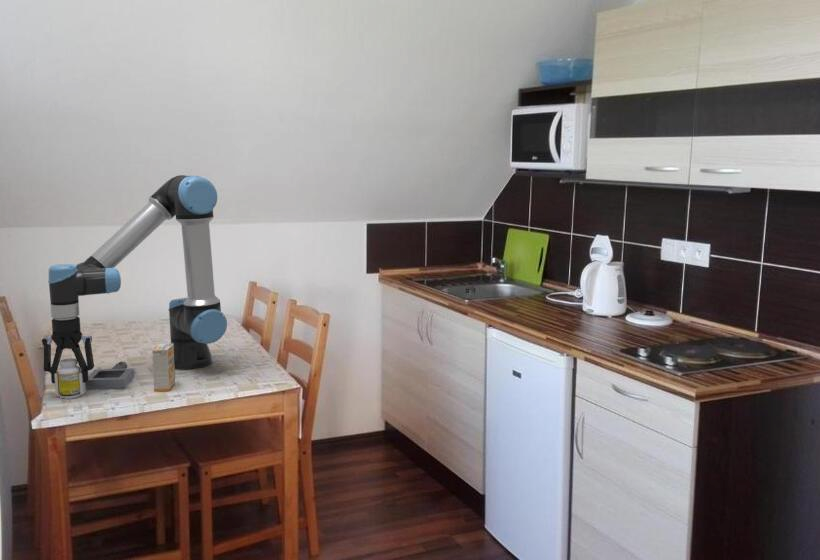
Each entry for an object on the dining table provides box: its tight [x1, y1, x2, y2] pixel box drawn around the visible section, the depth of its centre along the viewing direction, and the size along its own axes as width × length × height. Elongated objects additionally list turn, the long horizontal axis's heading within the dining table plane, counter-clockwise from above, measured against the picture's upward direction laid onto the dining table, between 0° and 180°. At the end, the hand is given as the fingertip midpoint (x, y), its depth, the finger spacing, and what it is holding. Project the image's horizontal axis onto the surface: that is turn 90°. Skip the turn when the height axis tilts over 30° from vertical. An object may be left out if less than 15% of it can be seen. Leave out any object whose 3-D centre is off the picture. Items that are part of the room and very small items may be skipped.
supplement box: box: [151, 343, 176, 392], centre depth 230 cm, size 8×5×13 cm, turn 5°
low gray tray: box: [85, 361, 135, 391], centre depth 240 cm, size 22×12×3 cm, turn 7°
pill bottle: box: [57, 357, 83, 400], centre depth 221 cm, size 6×6×11 cm
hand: (70, 393), depth 222 cm, fingers closed on pill bottle, 6 cm apart
